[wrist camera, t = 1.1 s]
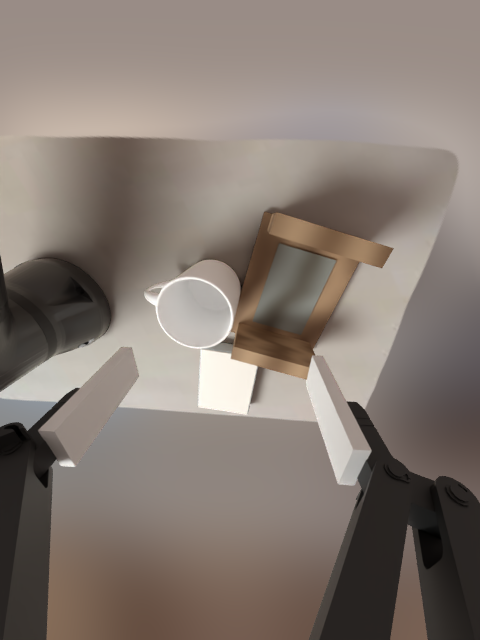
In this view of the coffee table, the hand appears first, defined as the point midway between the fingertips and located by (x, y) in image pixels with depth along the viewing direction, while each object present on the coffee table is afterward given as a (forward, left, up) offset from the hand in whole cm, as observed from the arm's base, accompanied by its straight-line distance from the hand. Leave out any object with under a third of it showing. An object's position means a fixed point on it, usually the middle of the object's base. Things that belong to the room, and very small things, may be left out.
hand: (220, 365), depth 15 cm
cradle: (+7, +2, -18) cm, 20 cm away
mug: (-6, -1, -19) cm, 20 cm away
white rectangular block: (+2, -17, -18) cm, 25 cm away
